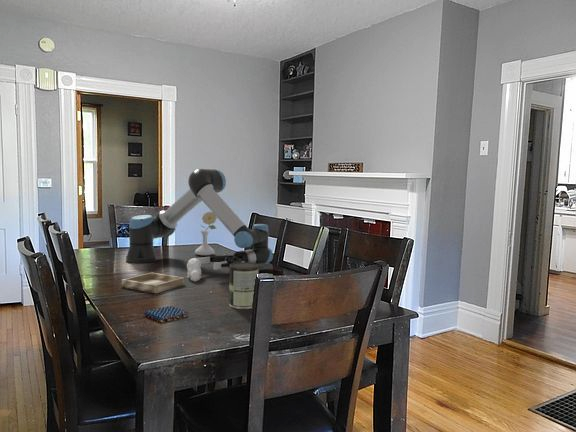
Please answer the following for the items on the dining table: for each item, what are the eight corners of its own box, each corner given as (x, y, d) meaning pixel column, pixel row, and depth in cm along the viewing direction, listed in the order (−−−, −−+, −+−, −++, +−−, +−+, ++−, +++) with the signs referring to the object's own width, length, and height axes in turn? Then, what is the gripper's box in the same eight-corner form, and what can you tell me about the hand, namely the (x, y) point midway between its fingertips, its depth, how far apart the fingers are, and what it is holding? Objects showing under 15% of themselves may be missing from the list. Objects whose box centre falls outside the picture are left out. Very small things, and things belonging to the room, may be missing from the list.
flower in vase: (190, 255, 244) (191, 211, 241) (200, 252, 254) (200, 210, 252) (211, 257, 240) (212, 212, 238) (220, 254, 251) (221, 211, 249)
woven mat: (190, 317, 138) (190, 311, 138) (160, 325, 130) (160, 318, 130) (171, 310, 145) (171, 304, 145) (142, 317, 137) (142, 311, 137)
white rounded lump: (201, 256, 193) (203, 264, 182) (200, 275, 195) (203, 284, 183) (186, 257, 191) (188, 264, 180) (186, 275, 193) (187, 284, 182)
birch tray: (121, 287, 172) (121, 279, 171) (151, 279, 186) (151, 272, 185) (155, 293, 163) (155, 285, 163) (184, 284, 178) (184, 277, 177)
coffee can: (222, 305, 151) (222, 264, 149) (243, 299, 159) (244, 260, 157) (243, 311, 144) (244, 269, 143) (264, 304, 152) (265, 265, 151)
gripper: (260, 270, 196) (221, 277, 181) (228, 262, 214) (190, 267, 200) (261, 254, 195) (221, 259, 181) (228, 247, 213) (190, 251, 199)
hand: (205, 263), depth 190 cm, fingers open, 13 cm apart
